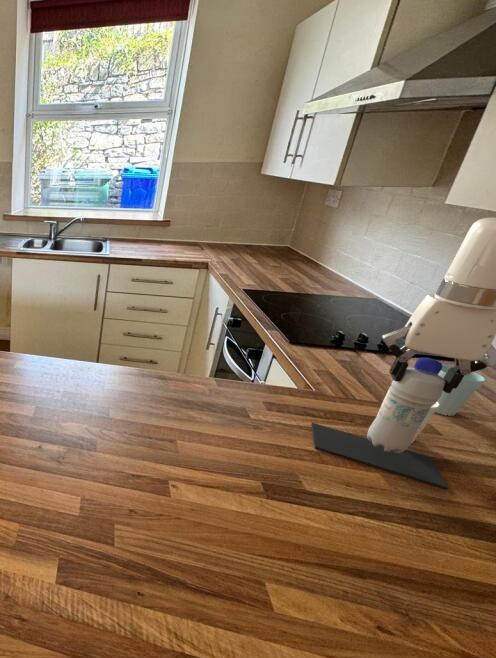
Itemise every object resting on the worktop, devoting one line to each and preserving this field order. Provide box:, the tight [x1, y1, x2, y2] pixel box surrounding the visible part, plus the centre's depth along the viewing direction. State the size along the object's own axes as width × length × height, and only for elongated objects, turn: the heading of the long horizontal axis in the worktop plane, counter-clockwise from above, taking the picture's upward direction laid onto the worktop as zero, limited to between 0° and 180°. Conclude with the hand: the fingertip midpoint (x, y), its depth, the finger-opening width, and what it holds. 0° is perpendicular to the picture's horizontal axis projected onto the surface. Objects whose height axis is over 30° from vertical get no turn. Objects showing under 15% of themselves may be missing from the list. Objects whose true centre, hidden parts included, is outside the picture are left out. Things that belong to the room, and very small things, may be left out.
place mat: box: [310, 422, 449, 491], centre depth 84 cm, size 20×10×1 cm, turn 57°
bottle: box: [366, 357, 445, 453], centre depth 78 cm, size 7×7×20 cm
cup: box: [435, 364, 486, 417], centre depth 97 cm, size 8×8×10 cm
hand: (419, 383), depth 76 cm, fingers closed on bottle, 6 cm apart
